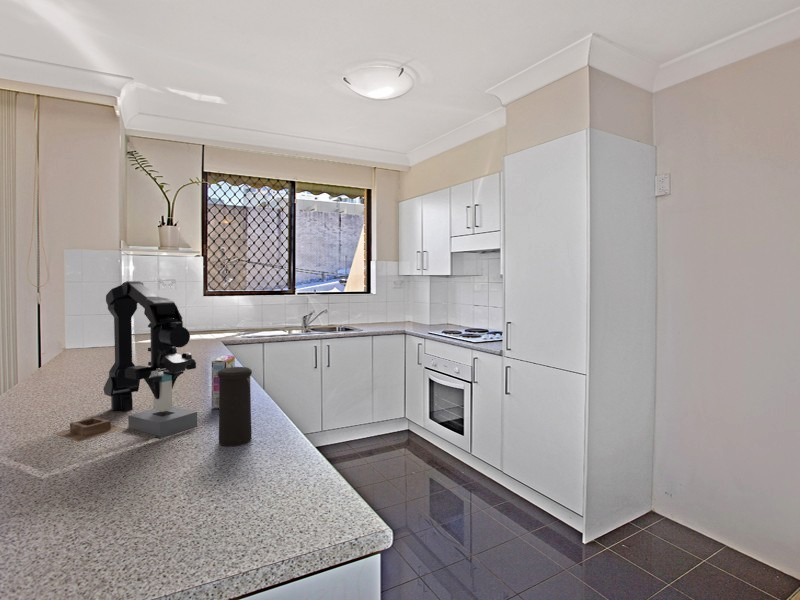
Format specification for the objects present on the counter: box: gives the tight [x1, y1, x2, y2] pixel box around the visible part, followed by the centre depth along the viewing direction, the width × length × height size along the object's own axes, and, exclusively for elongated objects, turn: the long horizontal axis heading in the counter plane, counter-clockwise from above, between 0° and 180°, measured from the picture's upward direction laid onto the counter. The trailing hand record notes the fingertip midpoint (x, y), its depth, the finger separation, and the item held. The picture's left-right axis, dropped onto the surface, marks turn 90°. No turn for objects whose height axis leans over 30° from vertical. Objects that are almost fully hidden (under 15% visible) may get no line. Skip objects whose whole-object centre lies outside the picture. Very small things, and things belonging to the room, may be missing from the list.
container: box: [218, 366, 253, 447], centre depth 124 cm, size 9×9×20 cm
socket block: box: [127, 405, 198, 440], centre depth 134 cm, size 14×12×4 cm
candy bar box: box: [211, 355, 236, 410], centre depth 159 cm, size 11×5×16 cm, turn 5°
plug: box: [153, 373, 173, 412], centre depth 134 cm, size 4×3×10 cm
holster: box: [55, 416, 126, 442], centre depth 129 cm, size 12×12×4 cm
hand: (162, 397), depth 134 cm, fingers closed on plug, 3 cm apart
